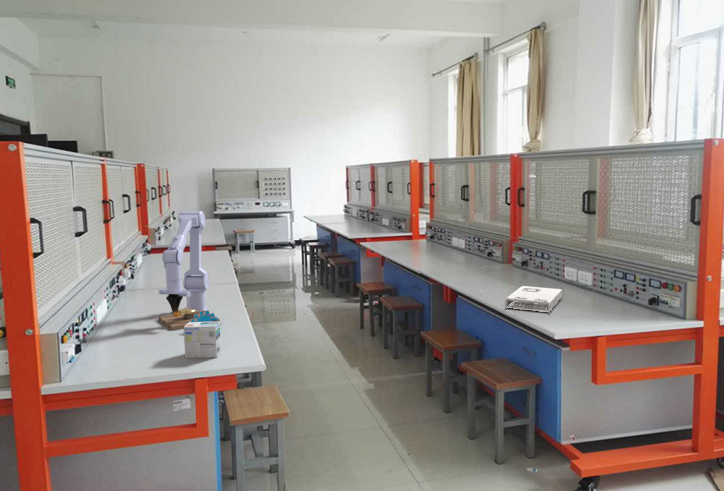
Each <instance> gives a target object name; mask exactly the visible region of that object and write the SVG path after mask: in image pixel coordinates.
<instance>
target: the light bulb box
mask: <svg viewBox="0 0 724 491" xmlns="http://www.w3.org/2000/svg"><path fill="white" fill-rule="evenodd" d="M220 323H221V321H217V322H189V323H187V324H186V325H185V326H184V329H183V341H184V343H183V344H184V358H185V359H199V358H201V359H203V358H204V359H205V358H206V359H207V358H209V359H210V358H211V359H212V358H213V359H214V358H218V357H219V355H220V354H221V352H222V339H221V325H220Z"/></svg>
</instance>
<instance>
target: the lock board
mask: <svg viewBox="0 0 724 491" xmlns="http://www.w3.org/2000/svg"><path fill="white" fill-rule="evenodd" d="M200 312H203V315H202V316H204V315H205V314H206V311H204V310H200V311H196V313H194V314H189V315H182V316H180V317H173V314H167V315H161V316H158V317H157V318H158V321H159V322H160V323H162V324H163V325H164V326H165V327H167V328H168V329H170V330H171V331H176V330H184V326H185V325H186V324H187V323H189V322H191V320H192V319H194V321H195V322H196V321H197V319H196V318H195V317H194V315H196V314H197V315H198V318H200ZM211 314H212V313H210V314H209V315H211ZM209 315H207V316H209ZM215 317H216V316H214V317H210V318H215ZM212 321H213V322H217V321H220V318H219V317H217V321H215V320H212ZM220 322H221V321H220Z"/></svg>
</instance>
